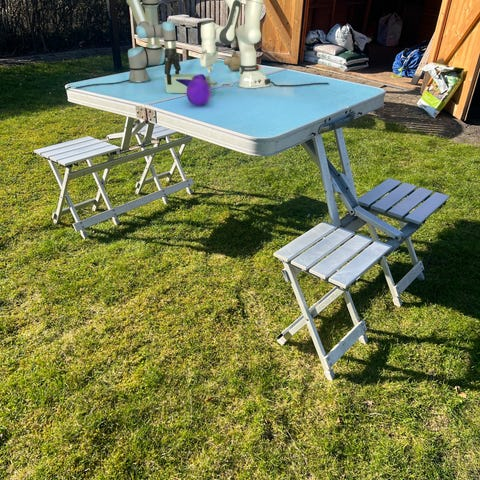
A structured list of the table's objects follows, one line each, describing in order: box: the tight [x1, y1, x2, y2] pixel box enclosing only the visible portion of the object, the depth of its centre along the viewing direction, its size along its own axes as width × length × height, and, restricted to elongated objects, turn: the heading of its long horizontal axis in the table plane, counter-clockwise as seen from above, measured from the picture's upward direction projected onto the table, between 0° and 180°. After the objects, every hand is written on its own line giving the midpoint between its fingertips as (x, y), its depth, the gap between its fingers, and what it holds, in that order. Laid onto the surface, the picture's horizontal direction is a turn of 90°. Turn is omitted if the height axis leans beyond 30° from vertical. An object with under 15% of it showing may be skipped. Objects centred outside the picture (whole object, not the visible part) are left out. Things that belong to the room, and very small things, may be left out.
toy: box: [176, 73, 212, 107], centre depth 271 cm, size 16×18×27 cm
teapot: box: [223, 50, 240, 72], centre depth 366 cm, size 21×12×15 cm, turn 120°
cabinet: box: [164, 73, 200, 94], centre depth 302 cm, size 20×12×10 cm, turn 70°
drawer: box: [192, 75, 218, 89], centre depth 298 cm, size 25×10×8 cm, turn 70°
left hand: (173, 82), depth 304 cm, fingers closed on cabinet, 11 cm apart
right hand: (209, 72), depth 292 cm, fingers closed
